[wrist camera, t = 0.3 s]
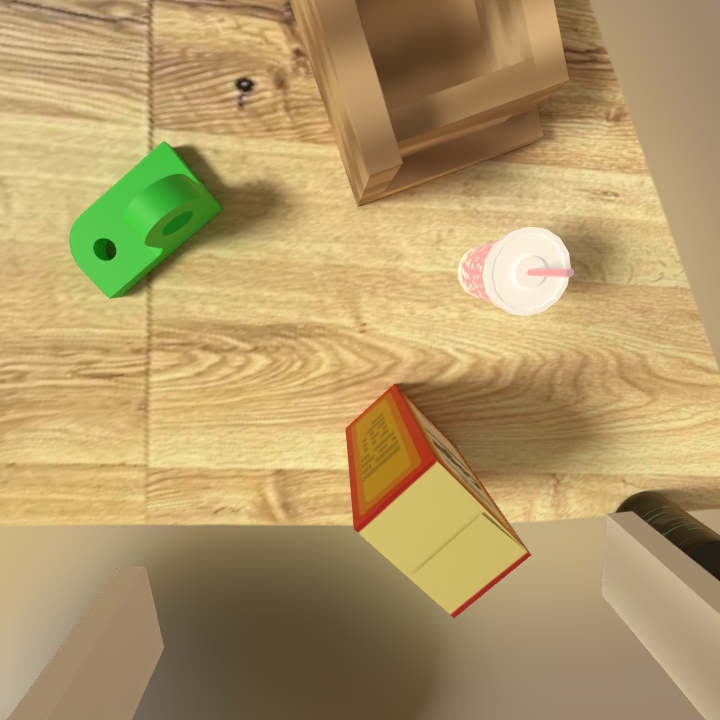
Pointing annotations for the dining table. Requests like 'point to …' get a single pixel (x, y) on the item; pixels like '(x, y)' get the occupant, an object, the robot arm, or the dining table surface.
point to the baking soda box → (426, 505)
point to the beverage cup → (518, 271)
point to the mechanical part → (141, 221)
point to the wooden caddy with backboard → (429, 82)
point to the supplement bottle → (678, 529)
